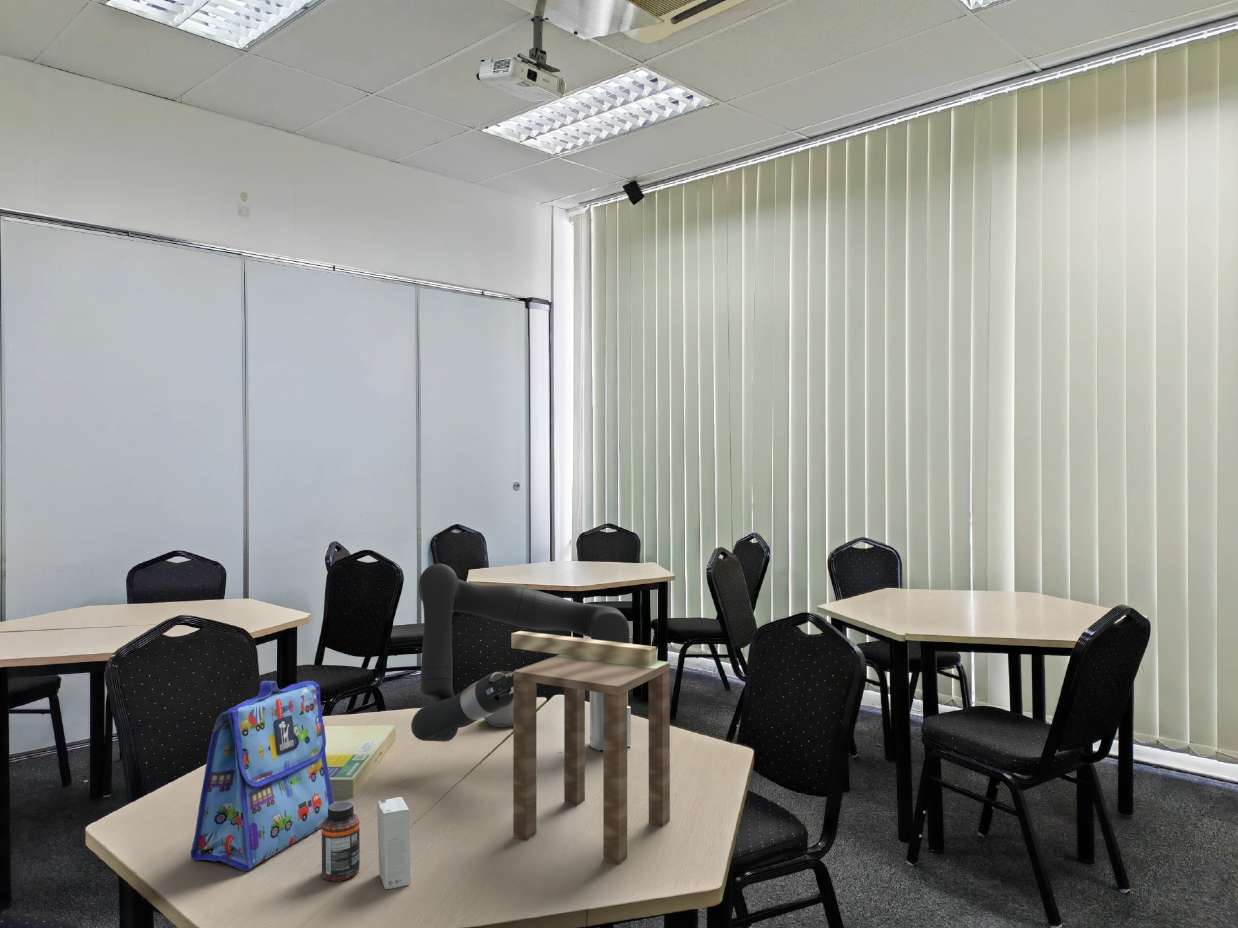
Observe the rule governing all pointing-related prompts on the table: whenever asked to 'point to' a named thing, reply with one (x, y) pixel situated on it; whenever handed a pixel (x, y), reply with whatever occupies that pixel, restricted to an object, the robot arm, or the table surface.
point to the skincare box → (393, 842)
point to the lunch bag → (264, 777)
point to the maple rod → (584, 647)
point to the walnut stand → (575, 680)
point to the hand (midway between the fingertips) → (541, 666)
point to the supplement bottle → (340, 842)
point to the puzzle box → (355, 755)
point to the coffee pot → (502, 715)
